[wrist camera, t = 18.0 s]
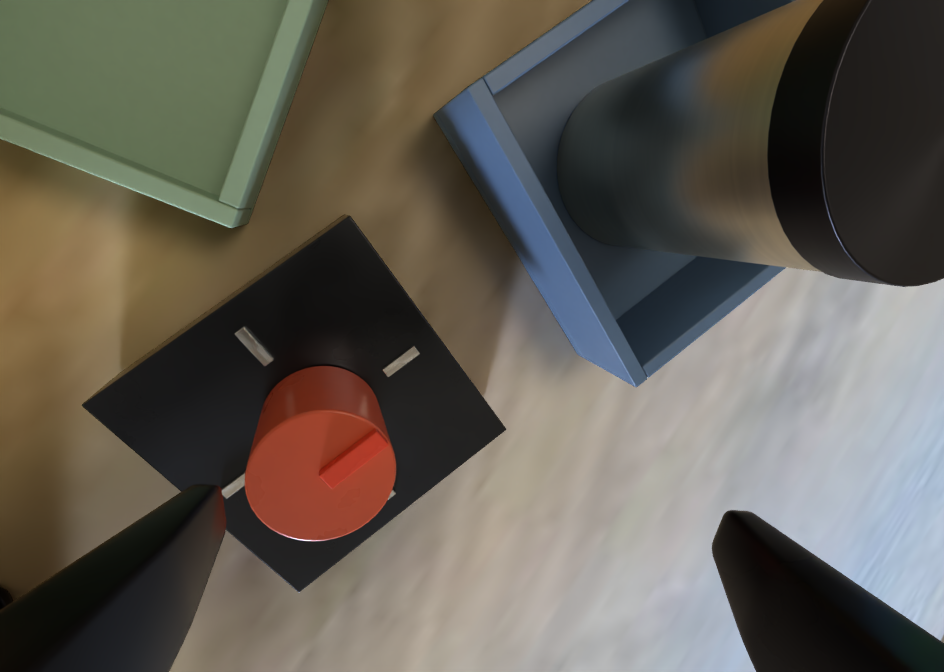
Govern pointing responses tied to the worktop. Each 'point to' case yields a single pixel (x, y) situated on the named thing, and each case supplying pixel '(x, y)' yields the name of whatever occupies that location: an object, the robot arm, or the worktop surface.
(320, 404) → the tap knob
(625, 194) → the travel mug
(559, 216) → the basin
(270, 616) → the worktop surface
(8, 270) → the worktop surface
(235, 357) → the black square plate
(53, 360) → the worktop surface
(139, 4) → the tray
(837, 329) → the worktop surface
